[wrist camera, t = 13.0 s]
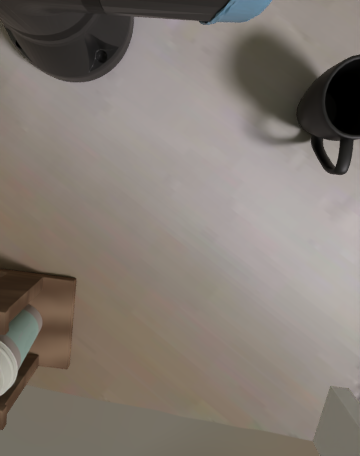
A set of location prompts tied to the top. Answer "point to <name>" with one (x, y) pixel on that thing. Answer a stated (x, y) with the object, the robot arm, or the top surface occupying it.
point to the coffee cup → (17, 344)
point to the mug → (333, 112)
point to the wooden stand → (51, 323)
